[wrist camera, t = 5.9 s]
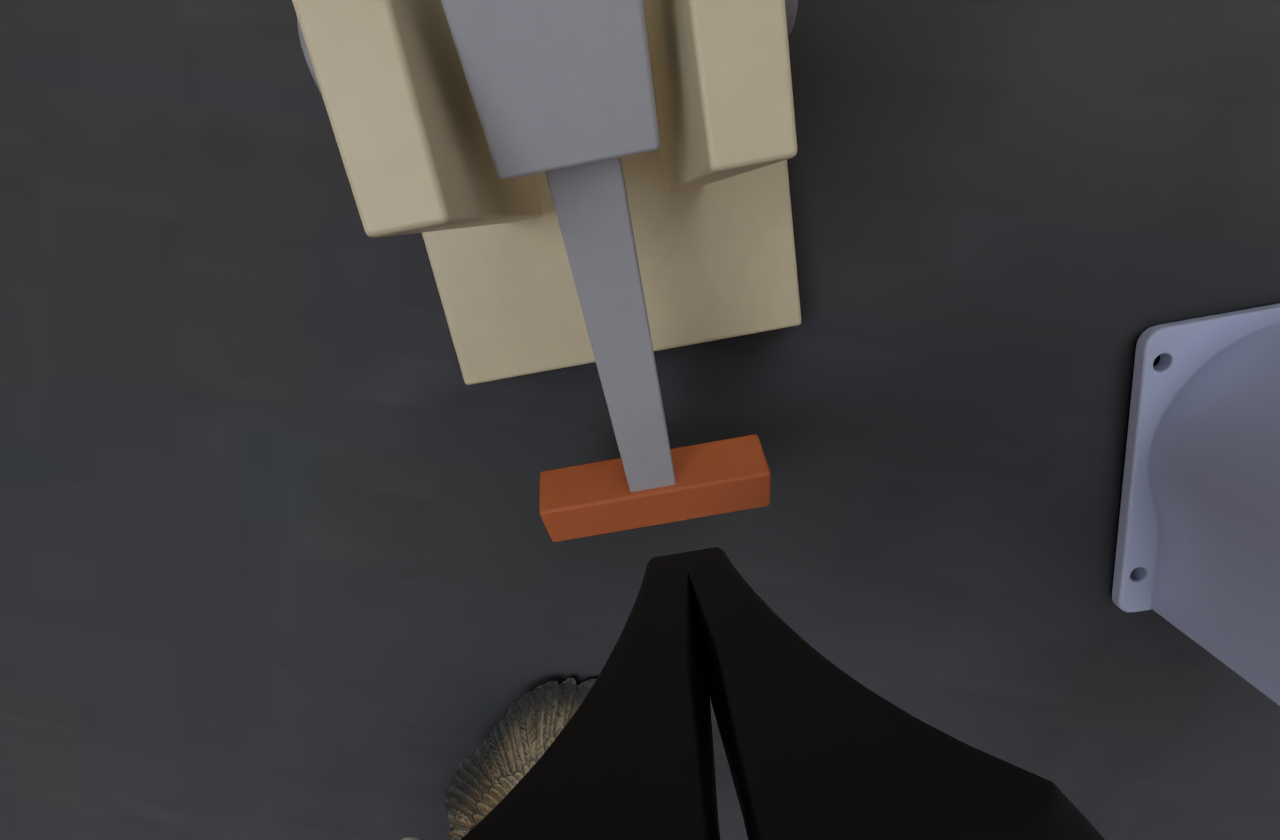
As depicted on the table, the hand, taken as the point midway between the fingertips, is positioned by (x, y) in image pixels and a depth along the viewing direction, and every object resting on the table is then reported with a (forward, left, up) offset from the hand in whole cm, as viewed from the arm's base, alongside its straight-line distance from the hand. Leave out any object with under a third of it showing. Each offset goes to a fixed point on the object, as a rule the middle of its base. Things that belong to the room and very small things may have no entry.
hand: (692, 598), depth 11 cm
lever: (+6, +1, -3) cm, 6 cm away
